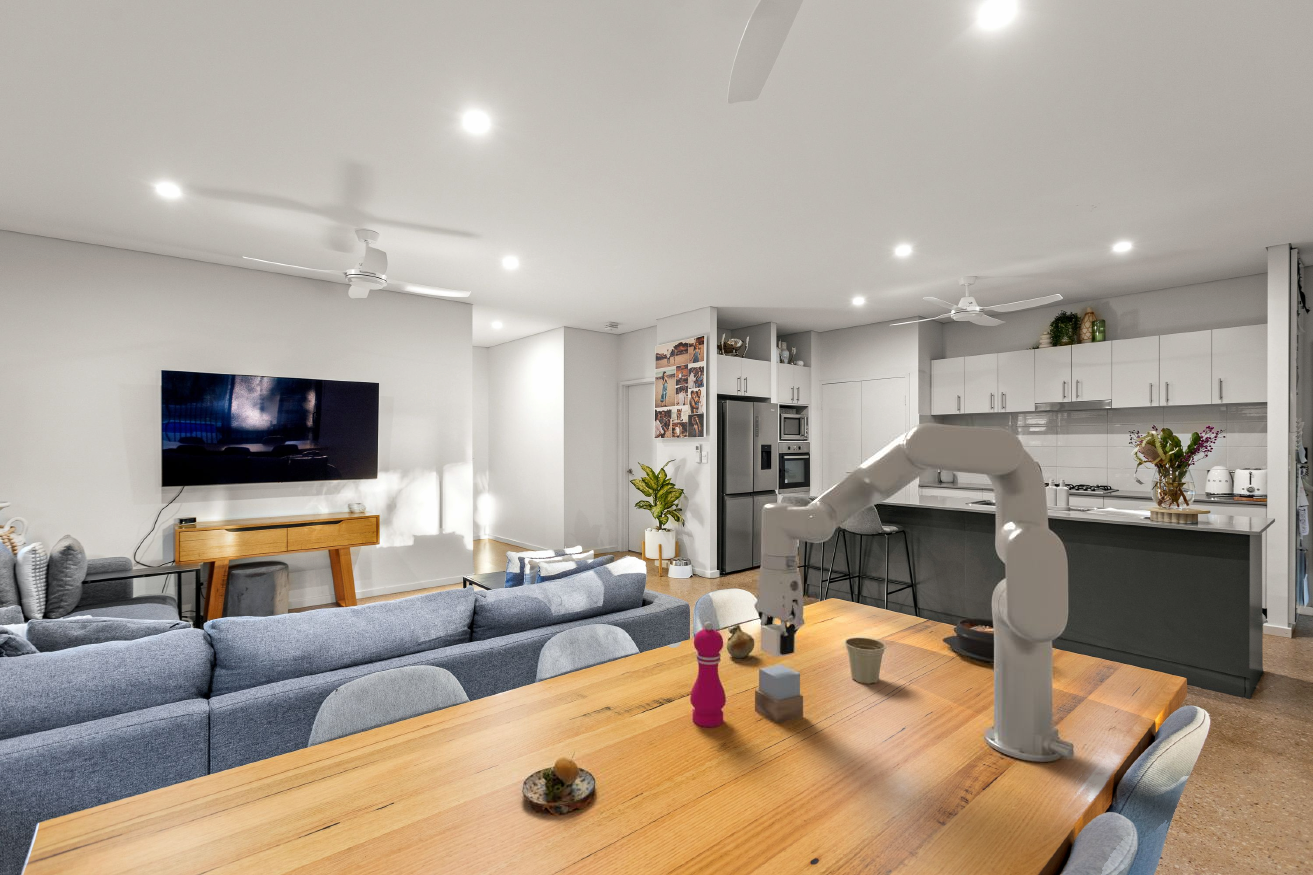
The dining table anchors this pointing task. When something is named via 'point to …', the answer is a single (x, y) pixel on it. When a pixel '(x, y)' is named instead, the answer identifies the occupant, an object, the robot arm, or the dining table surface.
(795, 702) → the walnut block
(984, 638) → the casserole
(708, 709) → the pepper mill
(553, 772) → the small plate of food
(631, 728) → the dining table surface
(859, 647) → the flower pot
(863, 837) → the dining table surface
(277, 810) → the dining table surface
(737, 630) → the onion
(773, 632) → the cream block
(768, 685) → the slate block
